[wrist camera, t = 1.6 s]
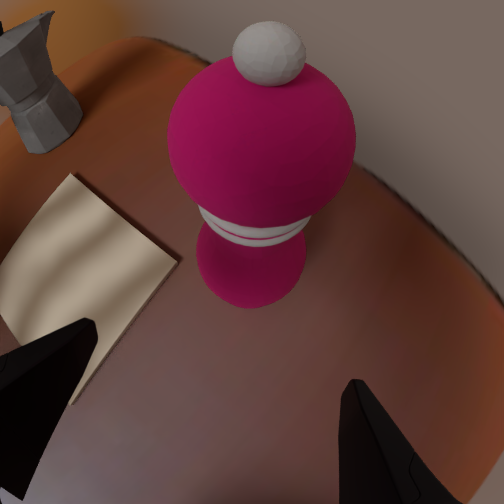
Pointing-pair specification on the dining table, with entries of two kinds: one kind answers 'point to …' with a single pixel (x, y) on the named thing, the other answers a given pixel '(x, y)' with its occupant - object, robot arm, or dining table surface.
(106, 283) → the beige cloth napkin
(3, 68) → the coffeepot
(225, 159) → the pepper mill
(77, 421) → the dining table surface
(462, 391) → the dining table surface
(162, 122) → the dining table surface
